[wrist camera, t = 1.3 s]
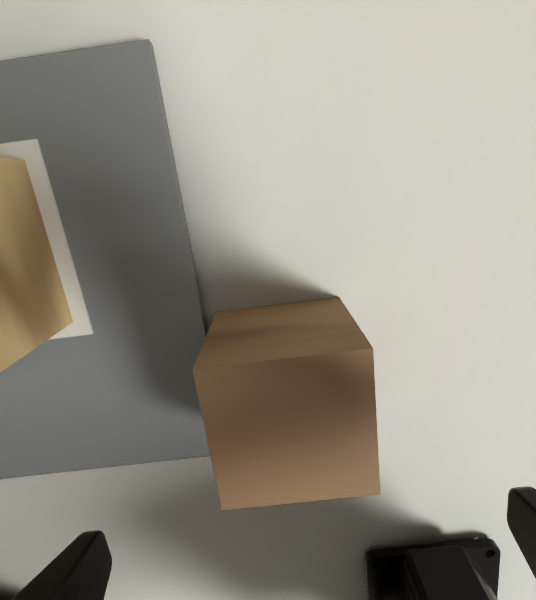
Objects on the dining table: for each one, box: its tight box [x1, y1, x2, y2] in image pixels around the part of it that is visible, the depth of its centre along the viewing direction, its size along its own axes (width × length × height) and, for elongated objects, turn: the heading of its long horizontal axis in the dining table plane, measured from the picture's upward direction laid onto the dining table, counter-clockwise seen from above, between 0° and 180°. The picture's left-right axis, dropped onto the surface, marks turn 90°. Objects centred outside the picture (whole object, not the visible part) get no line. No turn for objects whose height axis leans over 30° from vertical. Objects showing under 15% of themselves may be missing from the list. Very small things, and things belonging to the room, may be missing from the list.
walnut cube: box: [192, 297, 380, 511], centre depth 13 cm, size 5×5×5 cm
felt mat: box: [0, 39, 210, 479], centre depth 14 cm, size 16×12×1 cm
